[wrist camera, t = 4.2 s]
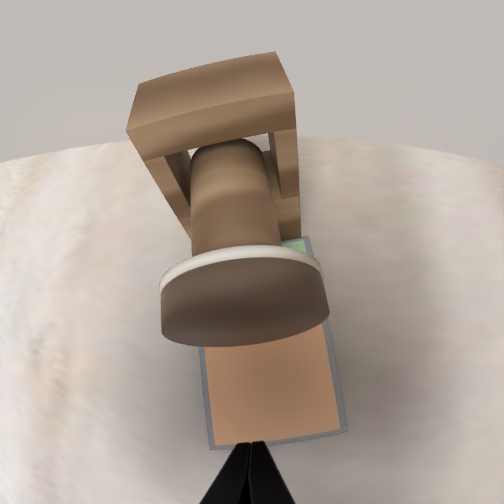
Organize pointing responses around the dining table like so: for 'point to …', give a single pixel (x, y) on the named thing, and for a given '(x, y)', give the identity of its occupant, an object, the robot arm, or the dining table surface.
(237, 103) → the block
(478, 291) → the dining table surface
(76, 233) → the dining table surface
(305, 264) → the peg
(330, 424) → the board
